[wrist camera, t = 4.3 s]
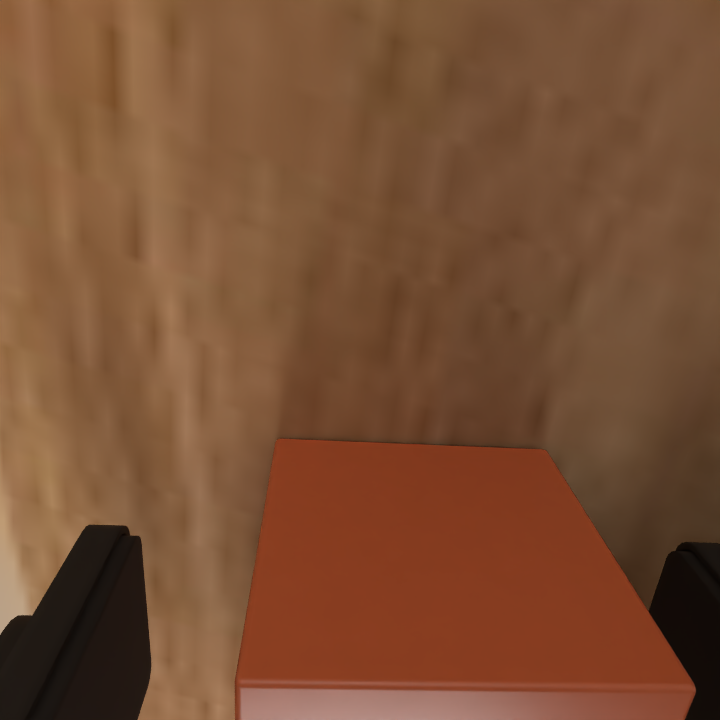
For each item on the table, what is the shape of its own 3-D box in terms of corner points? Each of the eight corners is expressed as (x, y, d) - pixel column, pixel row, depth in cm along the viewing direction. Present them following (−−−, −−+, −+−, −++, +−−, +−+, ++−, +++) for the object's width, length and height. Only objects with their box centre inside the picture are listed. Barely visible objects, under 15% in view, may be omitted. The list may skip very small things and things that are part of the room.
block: (271, 642, 11) (236, 948, 7) (275, 436, 10) (232, 682, 5) (502, 646, 12) (597, 942, 8) (546, 448, 10) (701, 689, 6)
